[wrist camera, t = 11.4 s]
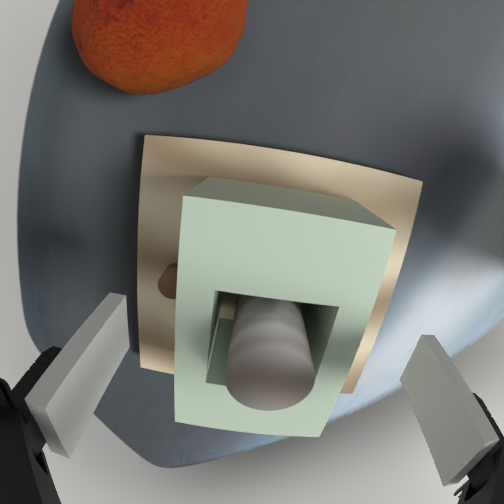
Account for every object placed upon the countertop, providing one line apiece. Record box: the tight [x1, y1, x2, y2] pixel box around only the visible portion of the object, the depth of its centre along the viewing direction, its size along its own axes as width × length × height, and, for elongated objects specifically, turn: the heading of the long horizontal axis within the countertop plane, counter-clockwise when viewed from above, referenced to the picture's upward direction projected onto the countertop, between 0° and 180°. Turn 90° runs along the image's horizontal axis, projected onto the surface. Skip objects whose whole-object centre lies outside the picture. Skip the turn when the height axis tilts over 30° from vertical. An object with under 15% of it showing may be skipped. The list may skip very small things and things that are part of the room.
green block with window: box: [174, 176, 396, 437], centre depth 16 cm, size 12×8×6 cm, turn 172°
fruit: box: [71, 0, 247, 94], centre depth 11 cm, size 9×9×8 cm
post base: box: [137, 135, 423, 411], centre depth 16 cm, size 16×16×10 cm
